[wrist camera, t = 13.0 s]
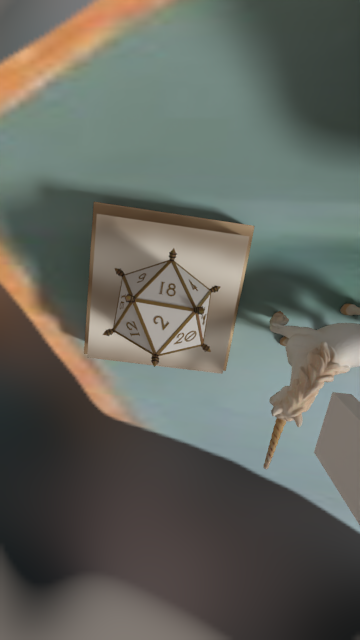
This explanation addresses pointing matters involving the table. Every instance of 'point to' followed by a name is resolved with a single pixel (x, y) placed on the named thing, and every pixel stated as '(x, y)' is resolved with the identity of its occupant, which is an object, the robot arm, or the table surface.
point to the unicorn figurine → (311, 365)
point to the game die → (162, 309)
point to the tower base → (152, 248)
